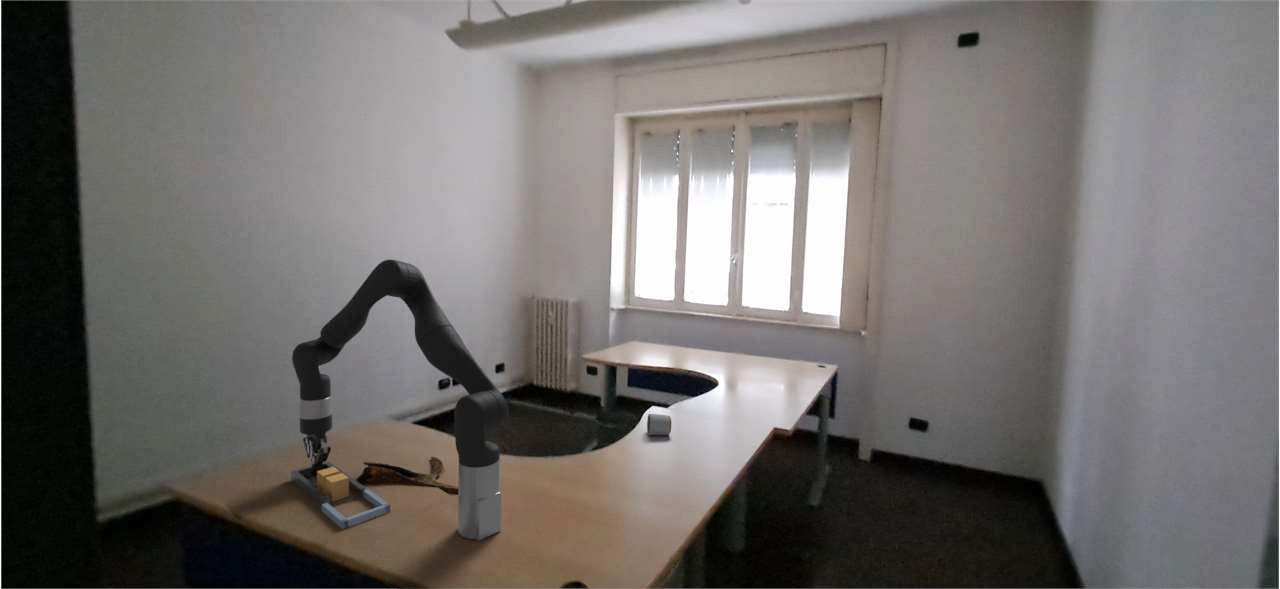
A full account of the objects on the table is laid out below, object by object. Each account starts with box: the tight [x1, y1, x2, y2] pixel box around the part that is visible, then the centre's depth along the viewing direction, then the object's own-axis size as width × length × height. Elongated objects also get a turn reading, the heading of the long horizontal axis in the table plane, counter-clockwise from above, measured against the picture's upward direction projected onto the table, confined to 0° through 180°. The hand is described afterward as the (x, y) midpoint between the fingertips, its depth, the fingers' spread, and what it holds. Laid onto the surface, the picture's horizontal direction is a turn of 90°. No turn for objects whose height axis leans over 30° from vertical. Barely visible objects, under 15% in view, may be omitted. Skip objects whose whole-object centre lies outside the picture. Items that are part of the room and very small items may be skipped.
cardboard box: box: [325, 473, 349, 502], centre depth 137 cm, size 4×4×5 cm
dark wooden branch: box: [357, 456, 459, 495], centre depth 154 cm, size 23×6×30 cm
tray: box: [321, 488, 391, 530], centre depth 130 cm, size 12×11×3 cm
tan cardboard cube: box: [317, 467, 340, 494], centre depth 140 cm, size 4×4×5 cm
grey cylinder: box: [646, 413, 672, 436], centre depth 196 cm, size 11×8×8 cm
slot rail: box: [290, 460, 366, 508], centre depth 141 cm, size 23×9×4 cm, turn 51°
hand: (317, 475), depth 145 cm, fingers closed
